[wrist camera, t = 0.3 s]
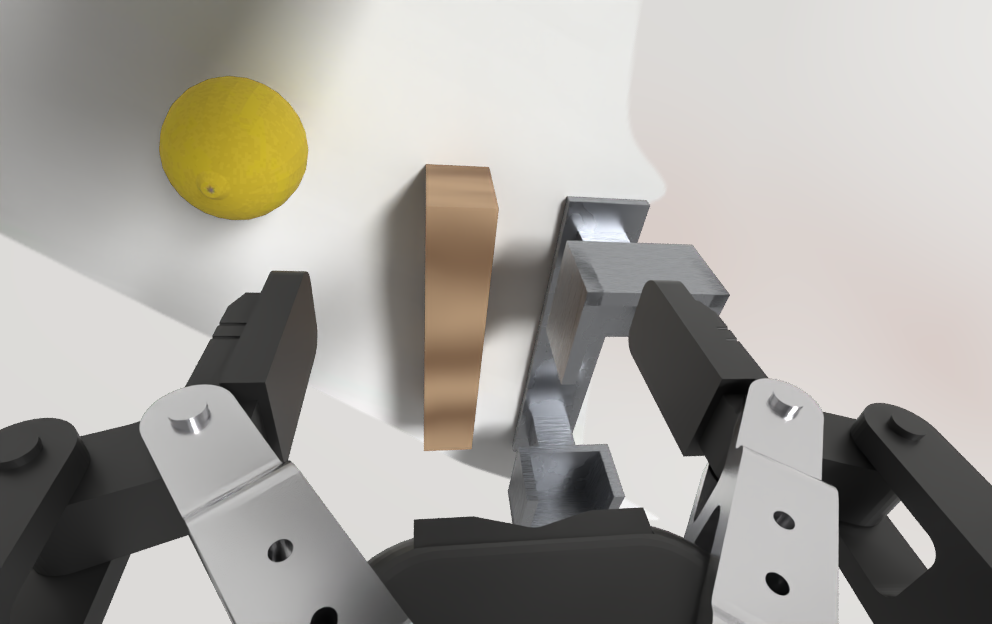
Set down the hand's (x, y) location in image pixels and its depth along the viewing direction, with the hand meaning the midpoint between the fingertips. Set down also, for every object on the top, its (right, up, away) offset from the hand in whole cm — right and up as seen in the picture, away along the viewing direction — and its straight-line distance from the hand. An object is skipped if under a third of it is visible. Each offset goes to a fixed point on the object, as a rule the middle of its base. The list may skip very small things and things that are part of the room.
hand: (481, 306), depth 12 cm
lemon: (-11, +10, +13) cm, 20 cm away
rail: (-3, +1, +22) cm, 22 cm away
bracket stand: (+6, -3, +26) cm, 27 cm away
